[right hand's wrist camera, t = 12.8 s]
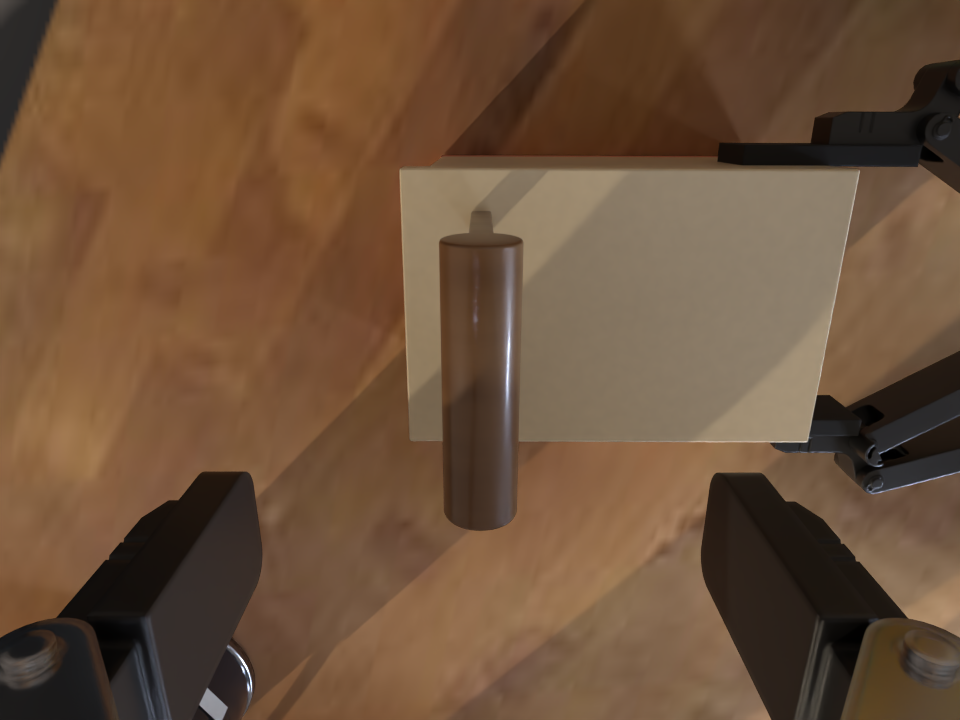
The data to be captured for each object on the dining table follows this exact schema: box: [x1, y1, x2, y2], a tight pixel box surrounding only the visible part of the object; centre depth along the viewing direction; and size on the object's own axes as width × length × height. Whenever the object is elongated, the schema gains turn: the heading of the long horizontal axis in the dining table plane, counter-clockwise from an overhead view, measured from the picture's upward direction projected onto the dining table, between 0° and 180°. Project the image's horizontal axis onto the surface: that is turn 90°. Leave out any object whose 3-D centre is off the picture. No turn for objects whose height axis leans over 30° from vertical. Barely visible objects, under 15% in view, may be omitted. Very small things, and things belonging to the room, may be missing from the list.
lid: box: [399, 166, 860, 531], centre depth 21 cm, size 16×10×9 cm, turn 90°
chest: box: [431, 155, 836, 167], centre depth 29 cm, size 15×10×9 cm
